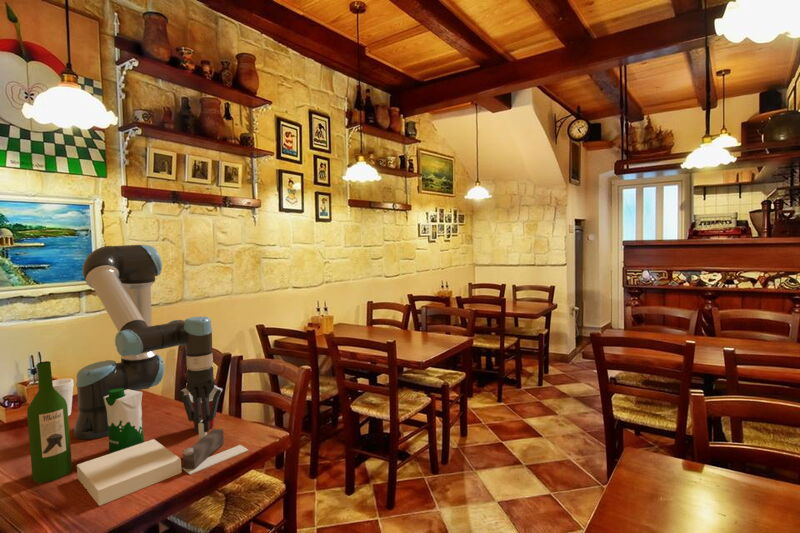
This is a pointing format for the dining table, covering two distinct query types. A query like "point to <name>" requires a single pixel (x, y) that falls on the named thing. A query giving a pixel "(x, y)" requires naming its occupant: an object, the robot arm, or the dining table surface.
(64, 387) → the foam cup
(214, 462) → the mat
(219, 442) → the dark grey block
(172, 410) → the dining table surface
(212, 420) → the plastic cup
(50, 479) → the wine bottle
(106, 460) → the cream flat square box
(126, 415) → the milk carton
